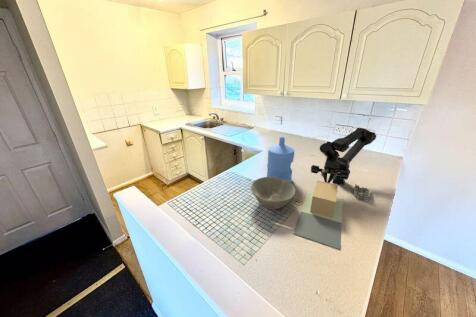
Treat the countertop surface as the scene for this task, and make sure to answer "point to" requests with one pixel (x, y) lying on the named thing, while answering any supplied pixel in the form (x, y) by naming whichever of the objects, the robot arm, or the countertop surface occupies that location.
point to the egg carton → (362, 193)
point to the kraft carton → (324, 199)
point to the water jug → (280, 161)
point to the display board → (320, 224)
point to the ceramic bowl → (273, 192)
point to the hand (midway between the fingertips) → (326, 186)
